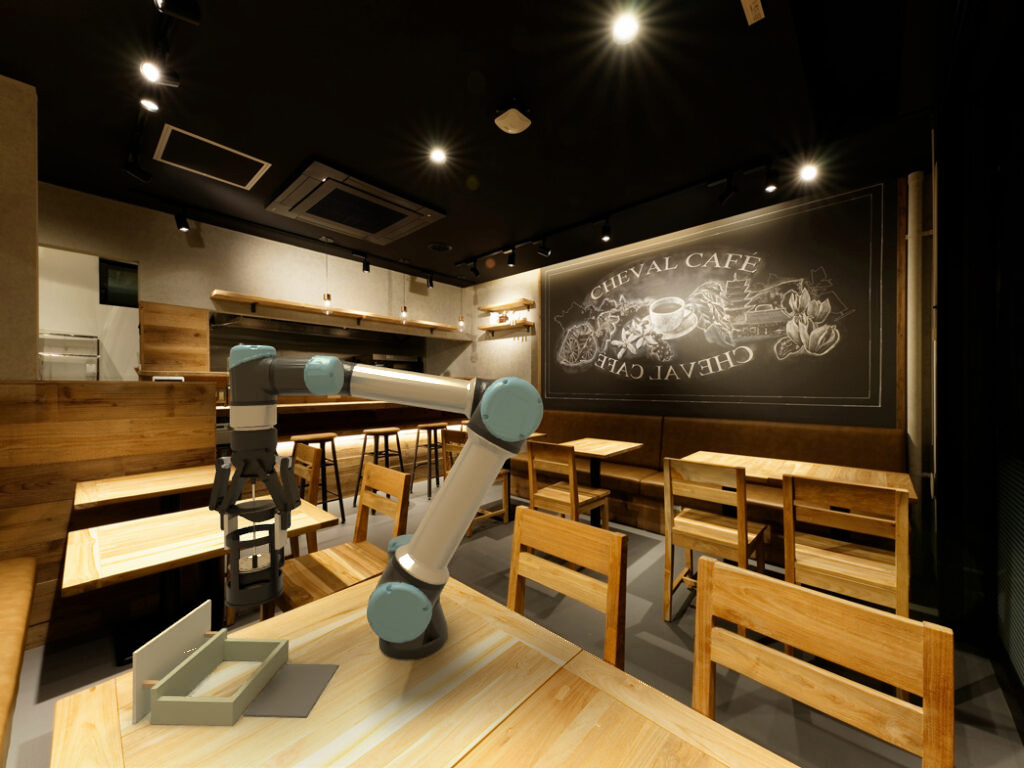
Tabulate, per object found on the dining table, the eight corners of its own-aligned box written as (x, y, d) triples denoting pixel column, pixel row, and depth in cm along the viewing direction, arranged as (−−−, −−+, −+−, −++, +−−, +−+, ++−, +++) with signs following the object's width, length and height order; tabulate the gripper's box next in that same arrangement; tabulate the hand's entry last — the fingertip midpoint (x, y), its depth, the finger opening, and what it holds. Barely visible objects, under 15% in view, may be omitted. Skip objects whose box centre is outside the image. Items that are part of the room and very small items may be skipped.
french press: (252, 614, 71) (250, 481, 71) (208, 608, 73) (205, 479, 73) (301, 581, 83) (299, 467, 83) (262, 577, 85) (259, 465, 85)
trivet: (338, 666, 84) (338, 664, 84) (306, 717, 71) (306, 716, 71) (285, 664, 84) (285, 663, 84) (243, 716, 71) (243, 714, 71)
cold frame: (288, 658, 86) (288, 601, 86) (232, 725, 70) (233, 655, 69) (207, 656, 87) (208, 599, 87) (132, 723, 70) (132, 652, 70)
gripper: (320, 424, 81) (322, 538, 82) (212, 426, 82) (214, 539, 82) (300, 429, 74) (302, 554, 74) (181, 430, 74) (183, 555, 74)
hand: (256, 546), depth 78 cm, fingers closed on french press, 9 cm apart
